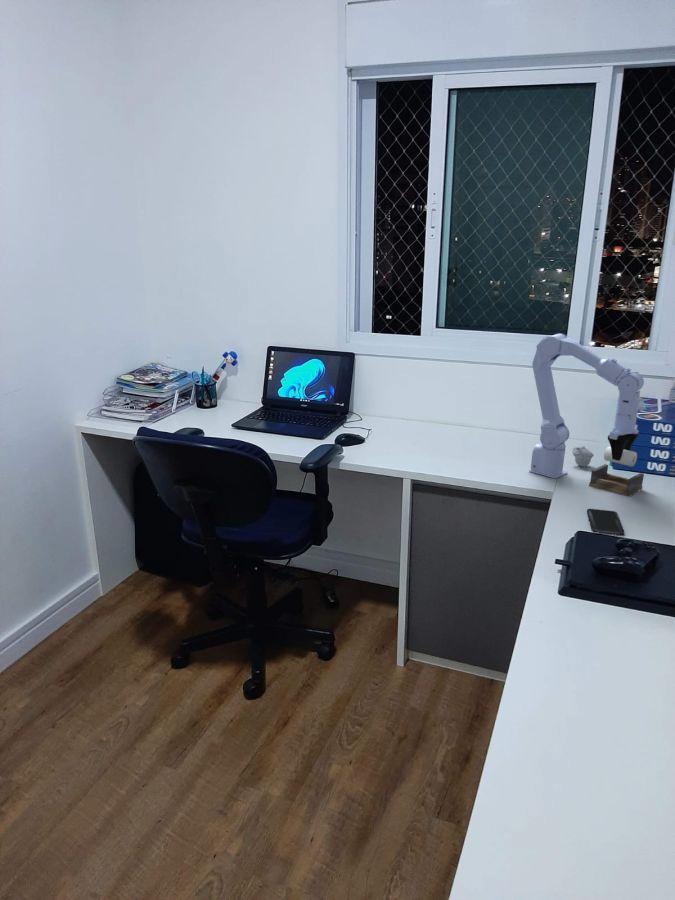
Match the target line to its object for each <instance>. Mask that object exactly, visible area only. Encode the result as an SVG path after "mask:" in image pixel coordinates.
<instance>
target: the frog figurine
mask: <svg viewBox="0 0 675 900" xmlns="http://www.w3.org/2000/svg"><path fill="white" fill-rule="evenodd" d="M572 455H573V456H574V462H575V464H576V465H578V466H579V467H582V466H584V467H587V466H588V465H590V463H591V462H592V461H591V460H592V459H593V457H594V452H592V451H591V450H589V449H588V448H587V447H586V446H585V445H582V444H578V445H577V446H574V447H572Z"/></svg>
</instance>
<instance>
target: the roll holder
mask: <svg viewBox="0 0 675 900" xmlns="http://www.w3.org/2000/svg"><path fill="white" fill-rule="evenodd" d="M608 469H609V464H602V465H600V466H598V467H596V468H594V469H592V470H591V474H590V480H589V481H590V482H589V483H588V485H589V487H592V488H597V489H600V490H603V489H604V491H607V492H612V493H615V494H618V493H619V494H618V495H622V494H623V495H622V496H625V495H626V497H629V496H630V497H632V496H633V495H635V494H637V493H638V491H639V490H640V491H642V490H643V481H644V476H645V475H644V474H645V473H642V472H640V473H638V474H635V475H634V476H632V477H630V478H627V477H623V476H619V475H615V474H611V473H608ZM641 489H642V490H641ZM640 491H639V492H640ZM636 492H637V493H636ZM634 493H635V494H634ZM631 495H632V496H631Z"/></svg>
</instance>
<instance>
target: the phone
mask: <svg viewBox="0 0 675 900" xmlns="http://www.w3.org/2000/svg"><path fill="white" fill-rule="evenodd" d="M586 515H587V519H588V518H589V519H588V523H589V522H590V523H589V527H590V530H591V532H592V533H595V532H599V533H598V534H603V533H604V535H612V534H614V535H613V536H624V535H625V530H624V526H623V525H622V522H621V519H620V516H619V514H618V512H617V511H614V510H605V509H596V508H587V509H586ZM615 534H616V535H615Z"/></svg>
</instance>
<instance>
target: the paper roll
mask: <svg viewBox="0 0 675 900" xmlns="http://www.w3.org/2000/svg"><path fill="white" fill-rule="evenodd" d="M603 459H604V461H608V462H610V463H616V464H619V465H623V466H628V467H634V466H635V465H636V462H637V459H638V453H637V452H636V451H632V450H630V451H629V450H623V453H622V457H621V459H620V460H619V461H618V460H614V459H612V451H611V446H610V445H609V446H607V447H606V448H605V450H604V453H603Z"/></svg>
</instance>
